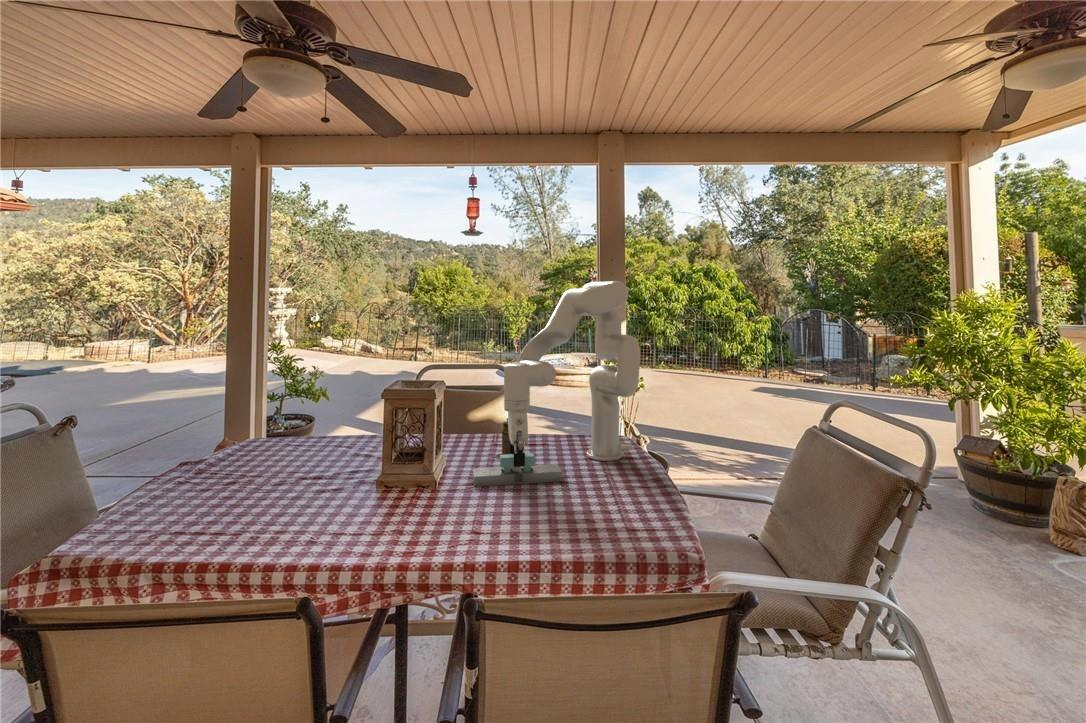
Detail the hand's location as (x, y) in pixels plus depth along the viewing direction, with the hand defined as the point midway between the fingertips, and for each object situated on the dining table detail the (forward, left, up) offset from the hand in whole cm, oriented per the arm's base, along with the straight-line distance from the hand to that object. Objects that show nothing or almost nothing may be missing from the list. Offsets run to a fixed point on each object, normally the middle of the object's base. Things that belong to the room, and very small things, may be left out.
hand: (517, 461), depth 148 cm
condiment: (0, -23, -6) cm, 24 cm away
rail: (0, 0, -6) cm, 6 cm away
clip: (0, 0, -5) cm, 5 cm away
